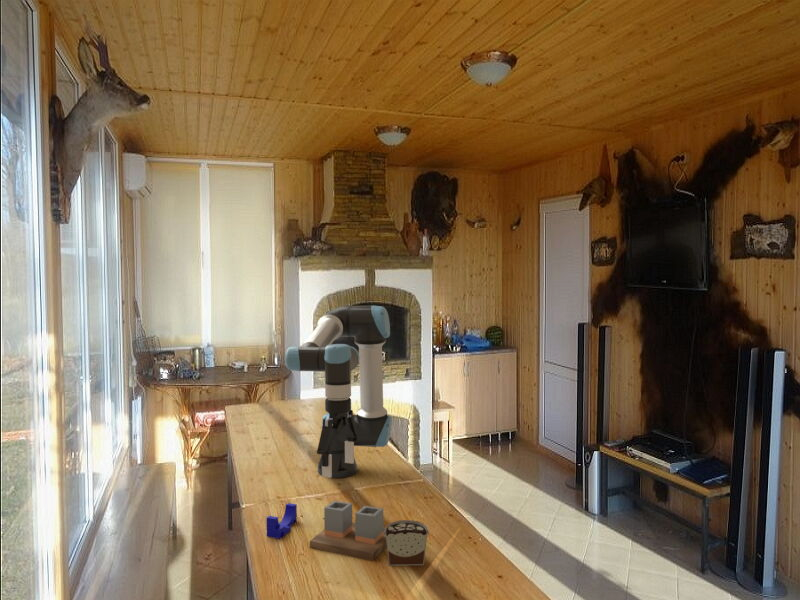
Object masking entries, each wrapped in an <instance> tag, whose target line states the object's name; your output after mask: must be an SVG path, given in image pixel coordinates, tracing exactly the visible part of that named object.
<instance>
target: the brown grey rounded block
mask: <svg viewBox="0 0 800 600" xmlns="http://www.w3.org/2000/svg"><path fill="white" fill-rule="evenodd" d="M384 528H385V531H384V535H385V533H386V542H387V547H386V550H387V551H386V552H387V561H388V566H399V567H400V566H424V565H425V557H426V548H427V539H428V536H430V532H429V529H428V526H427V525H426V524H424V523H423V522H421V521H417V520H410V519H403V520H395V521H392V522H390V523H389V524H387V525H386V526H385V527H384ZM383 537H384V536H383Z"/></svg>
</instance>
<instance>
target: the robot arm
mask: <svg viewBox="0 0 800 600" xmlns="http://www.w3.org/2000/svg"><path fill="white" fill-rule="evenodd" d="M390 323H391V322H390V317H389V313H388V311H387V308H385V307H384V306H380V305H379V306H378V305H374V304H373V305H342V306H338V307H335V308H333V309H331V310H330V311H327V312H326V313H324V314H323V315H322V316H321V317H320V318H319V319H318V321H317V324H316V328H315V329H314V330H312V332H311V333H310V334H309V335H308V337H306V339H305V340H304V341H303V342H302V344H301V345H300V346H298V345H296V346H295V345H294V346H290V347H288V348H287V350H286V353H285V365H286V368H287V369H288V370H289V371H292V372H294V371H296V372H324V381H325V382H324V384H325V385H324V389H325V390H324V392H325V393H324V395H325V396H324V397H325V400H324V401H325V402H324V404H325V405H324V407H325V409H324V410H325V411H326V414H324V415H323V416H322V419H321V420H322V421H321V430H320V431H321V432H320V436H319V440H318V441H319V442H318V446H317V450H316V454H317V455H320V459H319V461H318V464H317V473H318V475H320V476H321V477H322V478H328V479H342V478H349V477H352V476H354V475H355V474H357V472H358V464H357V461H356V458H355V447H367V448H368V447H369V448H370V447H371V448H381V447H382V448H384V447H386V446H387V445H388V444H389V441H390V438H391V437H390V436H391V431H392V422H393V421H392V420H393V419H392V418H393V417H392V416H391V415H388V410H387V409H386V408H385V407H384V389H383V388H384V385H383V384H384V383H383V382H384V381H383V379H384V378H383V345H385V343H386V342H387V338H390V336H391V324H390ZM343 337H344V338H354V344H356V346H357V347H358V349H357V348H355V347H354V346H351V345H349V344H346V343H335V344H334V343H333V342H334V341H335V340H337V339H339V338H343ZM356 367H359V392H360V393H359V395H360V397H359V398H360V399H359V400H360V408H358V410H357V411H356V414H353V413H354V410H353V409H352V399H351V396H352V371H354V369H356Z"/></svg>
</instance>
